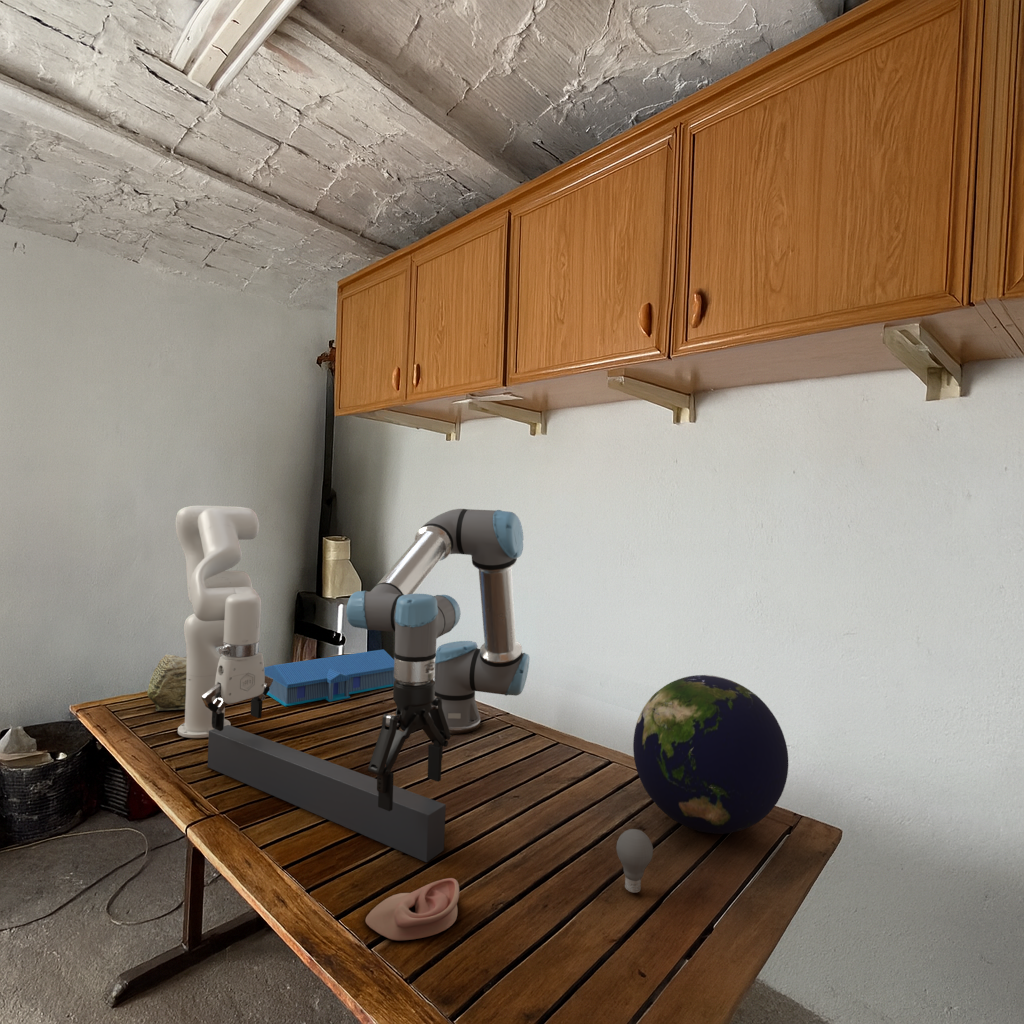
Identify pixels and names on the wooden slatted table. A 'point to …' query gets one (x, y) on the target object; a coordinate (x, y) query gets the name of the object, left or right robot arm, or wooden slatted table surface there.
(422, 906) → the anatomical model
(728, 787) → the globe
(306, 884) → the wooden slatted table surface
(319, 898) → the wooden slatted table surface
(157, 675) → the fossil
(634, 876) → the light bulb
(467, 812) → the wooden slatted table surface
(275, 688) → the model building
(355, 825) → the post
